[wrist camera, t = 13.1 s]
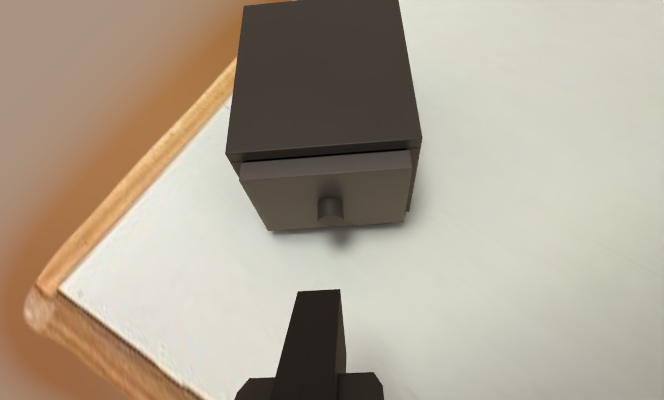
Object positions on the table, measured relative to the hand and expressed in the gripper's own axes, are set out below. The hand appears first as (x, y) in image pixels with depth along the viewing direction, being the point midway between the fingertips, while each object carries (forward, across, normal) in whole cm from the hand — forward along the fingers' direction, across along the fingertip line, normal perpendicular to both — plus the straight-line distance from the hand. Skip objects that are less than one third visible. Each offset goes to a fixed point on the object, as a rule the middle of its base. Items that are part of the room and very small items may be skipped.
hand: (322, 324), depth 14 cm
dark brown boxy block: (+19, 0, -3) cm, 19 cm away
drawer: (+17, 0, -2) cm, 17 cm away
